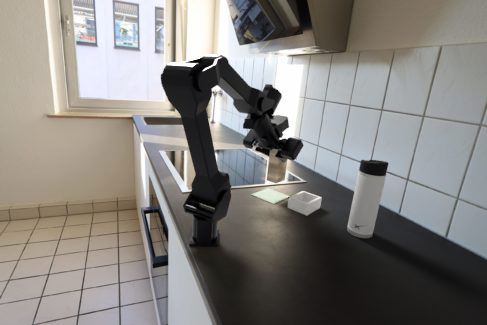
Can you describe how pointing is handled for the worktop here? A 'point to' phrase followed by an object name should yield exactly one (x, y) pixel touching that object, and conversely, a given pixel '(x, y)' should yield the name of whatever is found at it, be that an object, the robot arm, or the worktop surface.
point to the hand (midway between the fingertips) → (280, 159)
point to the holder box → (304, 202)
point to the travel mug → (367, 198)
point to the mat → (270, 196)
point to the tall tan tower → (276, 168)
